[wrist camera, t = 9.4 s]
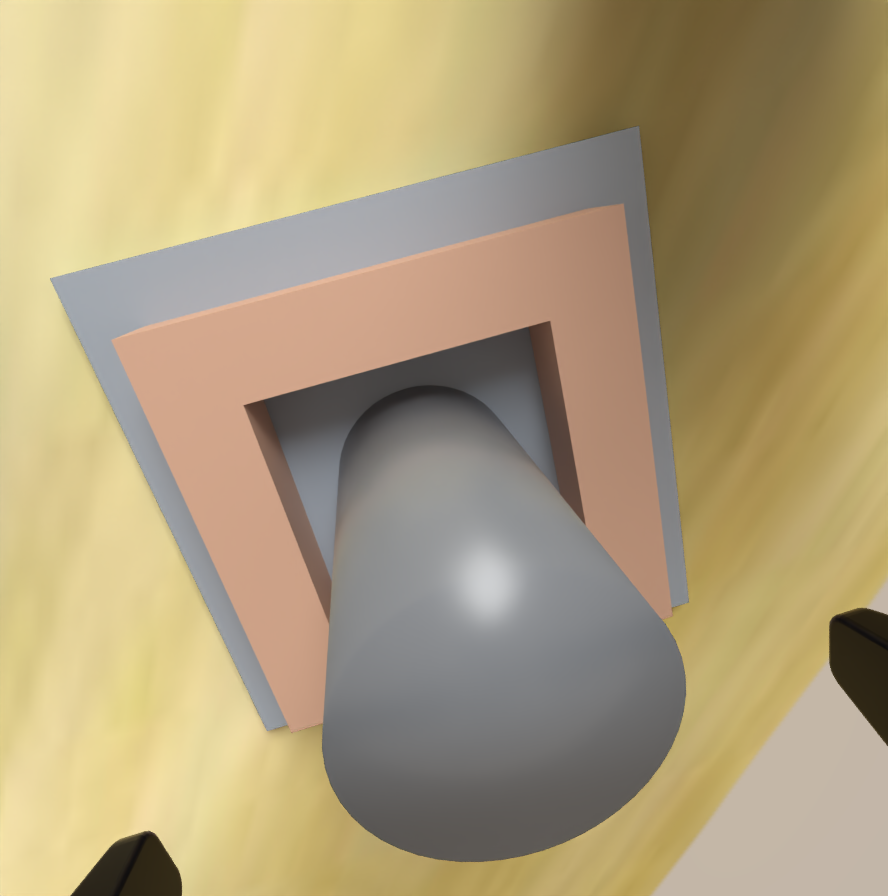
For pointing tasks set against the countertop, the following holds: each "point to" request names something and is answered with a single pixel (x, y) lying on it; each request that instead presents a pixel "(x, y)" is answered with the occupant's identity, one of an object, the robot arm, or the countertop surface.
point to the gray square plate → (388, 377)
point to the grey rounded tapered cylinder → (481, 644)
